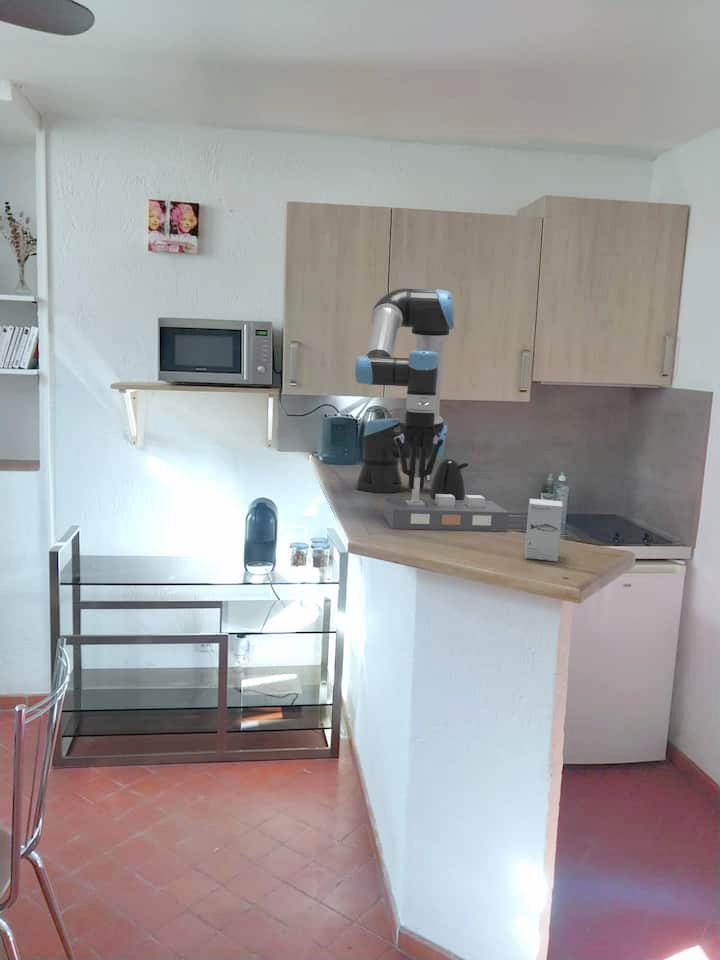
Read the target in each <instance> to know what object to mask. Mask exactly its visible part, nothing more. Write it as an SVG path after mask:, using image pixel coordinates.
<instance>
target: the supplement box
mask: <svg viewBox="0 0 720 960" xmlns="http://www.w3.org/2000/svg"><path fill="white" fill-rule="evenodd" d="M563 506H564V505H563V501H559V500H549V499H540V498H539V499H538V498H537V499H536V498H529V501H528V509H527V521H526V532H525V533H526V535H525V543H524V544H525V545H524V559H526V560H527V559H531V560H540V561H541V560H542V561H550V562H557V563H558V561H559V551H560V540H561V539H560V538H561V529H562V528H561V527H562V521H563V519H562V518H563V510H564V508H563Z"/></svg>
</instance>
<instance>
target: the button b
mask: <svg viewBox="0 0 720 960" xmlns="http://www.w3.org/2000/svg"><path fill="white" fill-rule="evenodd" d="M435 505H436V506H437V507H455V497H454V496H453V495H451V494H435Z"/></svg>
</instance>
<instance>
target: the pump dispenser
mask: <svg viewBox="0 0 720 960" xmlns="http://www.w3.org/2000/svg"><path fill="white" fill-rule="evenodd" d="M468 466H469V462H465V463H460V464H459V463H458V461H456V460H455V459H453V458H446V459H444V460H442V461H441V462H440V464H439V466H438V468H436V472H435V474H434V477H433V479H432V483H431V487H430V492H429V499H435V494H451V495H453V496H454V497H455V500H464V499H465V495H467V494H466V493H467V492H466V484H465V483H466V482H465V478H464V475H463V471H462V469H465V468H467V467H468Z"/></svg>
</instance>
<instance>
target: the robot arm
mask: <svg viewBox="0 0 720 960" xmlns="http://www.w3.org/2000/svg"><path fill="white" fill-rule="evenodd" d="M454 317H455V316H454V304H453V294H452V293H451V292H450V291H449V290H444V289H437V288H436V289H435V288H434V289H433V288H432V289H431V288H406V287H405V288H404V287H403V288H402V287H401V288H398V289H394V290H392V291H390V292H388V293H386V294H385V295H384V296H383V295H382V297H381V298H380V299H379V300H378V301H376V303H375V304H374V307H373V309H372V311H371V316H370V320H371V324H372V326H371V327H372V328H371V331H370V336H369V339H368V344H367V349H366V354H365V355H360V356H358V357H357V358H356V360H355V366H354V367H355V368H354V369H355V370H354V378H355V381H356V383H358V384H362V385H368V386H392V387H393V386H395V387H406V388H407V389H406V405H405V409H406V410H407V411H406V412H405V420H404V422H402V420H401V418H398V417H397V418H395V417H393V418H392V417H390V418H379V419H378V418H377V419H373V420H372V419H371V420H368V421H366V423H365V426H364V433H363V438H364V439H363V440H364V441H363V456H362V459H363V460H362V466H361V469H360V472H359V474H358V477H357V479H356V489H357V490H360V491H363V492H370V493H381V494H382V493H386V494H387V493H388V494H389V493H399V492H402V491H403V480H402V477H401V472H402V473H403V474H404V475H407V476H408V485H407V486H408V488H409V490H411V497H410V499H411V500H412V501H413V502H419V499H420V490H423V489H424V486H425V484H424V483H425V477H426V476H430V475H431V474H433V473H432V472H433V470H434V466H435V463H436V461H439V460H440V459H441V458H442V457H443V454H444V448H445V445H446V438H447V434H448V425H446V424H444V418H443V417H442V416H441V415H440V407H441V406H440V404H441V388H442V387H441V386H442V371H443V360H444V359H443V357H444V341H445V339H447V337H449V335H450V330H453V329H455V322H454V321H455V318H454ZM401 327H403V328H411V334H412V336H413V337H414V338H415V350H411V351H410V352H409V354H408V355H409V357H407V358H405V357H394V354H395V348H396V343H397V336H398V331H399V329H400V328H401ZM407 460H409V466H408V462H407ZM417 460H418V475H416V464H417V463H416V462H417ZM399 462H400V467H401V472H400V469H399ZM426 462H427V463H426Z"/></svg>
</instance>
